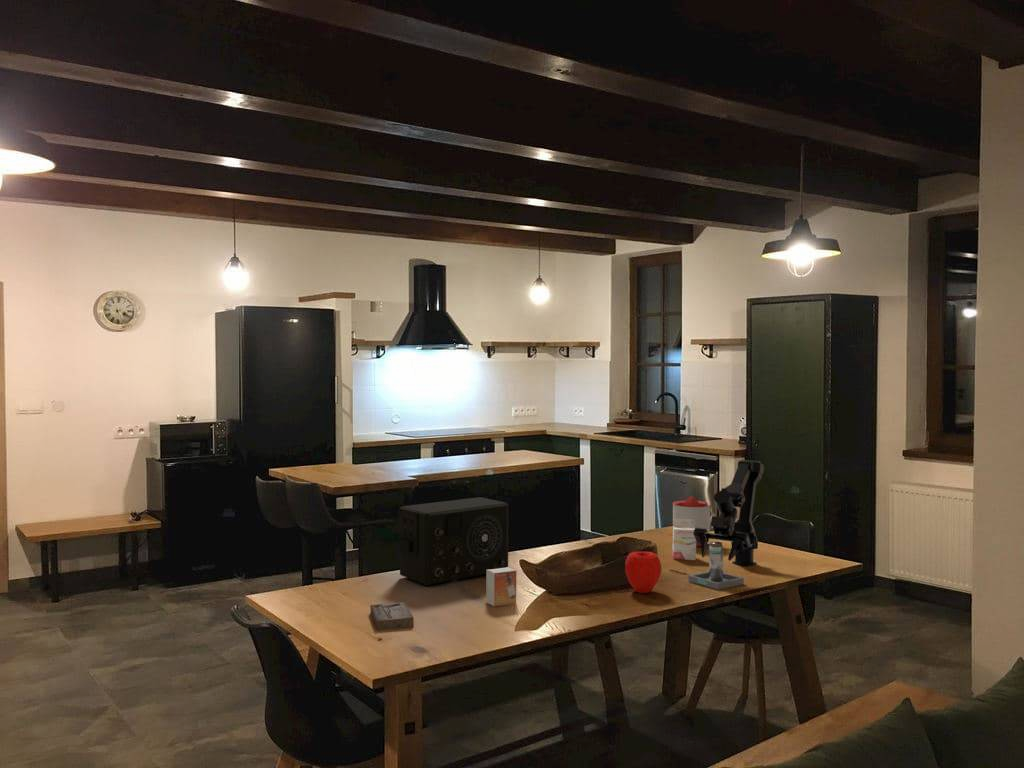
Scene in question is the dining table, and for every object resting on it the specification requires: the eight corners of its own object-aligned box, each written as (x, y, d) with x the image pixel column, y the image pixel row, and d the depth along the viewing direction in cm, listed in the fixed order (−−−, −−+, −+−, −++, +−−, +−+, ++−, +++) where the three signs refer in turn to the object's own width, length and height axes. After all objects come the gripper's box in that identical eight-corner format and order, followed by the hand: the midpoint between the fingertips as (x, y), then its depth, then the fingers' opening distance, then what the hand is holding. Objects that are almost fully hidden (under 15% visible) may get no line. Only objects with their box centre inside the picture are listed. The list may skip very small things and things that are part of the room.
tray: (714, 576, 304) (714, 570, 304) (743, 584, 293) (743, 577, 293) (687, 581, 297) (688, 575, 297) (717, 590, 286) (717, 583, 286)
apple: (653, 585, 291) (653, 546, 291) (667, 595, 280) (667, 553, 279) (619, 588, 288) (620, 548, 288) (633, 597, 277) (633, 555, 277)
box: (376, 632, 243) (376, 620, 243) (370, 614, 259) (369, 604, 259) (414, 628, 246) (414, 617, 245) (405, 611, 262) (405, 601, 262)
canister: (710, 578, 298) (710, 541, 298) (724, 580, 296) (724, 542, 296) (707, 581, 294) (707, 543, 294) (721, 583, 292) (721, 544, 292)
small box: (493, 607, 266) (493, 573, 265) (485, 602, 271) (485, 569, 270) (516, 603, 269) (516, 570, 269) (508, 599, 274) (508, 566, 274)
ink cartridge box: (673, 559, 330) (673, 521, 329) (672, 556, 334) (672, 518, 334) (696, 560, 329) (696, 521, 328) (694, 557, 334) (695, 519, 333)
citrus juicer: (719, 548, 350) (719, 498, 349) (676, 548, 349) (676, 498, 349) (709, 540, 365) (710, 492, 365) (668, 540, 365) (668, 493, 364)
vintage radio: (424, 590, 285) (424, 515, 284) (394, 579, 300) (394, 507, 299) (514, 573, 308) (514, 503, 307) (482, 563, 323) (482, 496, 322)
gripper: (695, 504, 303) (683, 541, 294) (748, 509, 294) (737, 548, 285) (702, 523, 310) (691, 560, 301) (754, 528, 301) (744, 566, 292)
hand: (715, 558), depth 295 cm, fingers open, 9 cm apart
